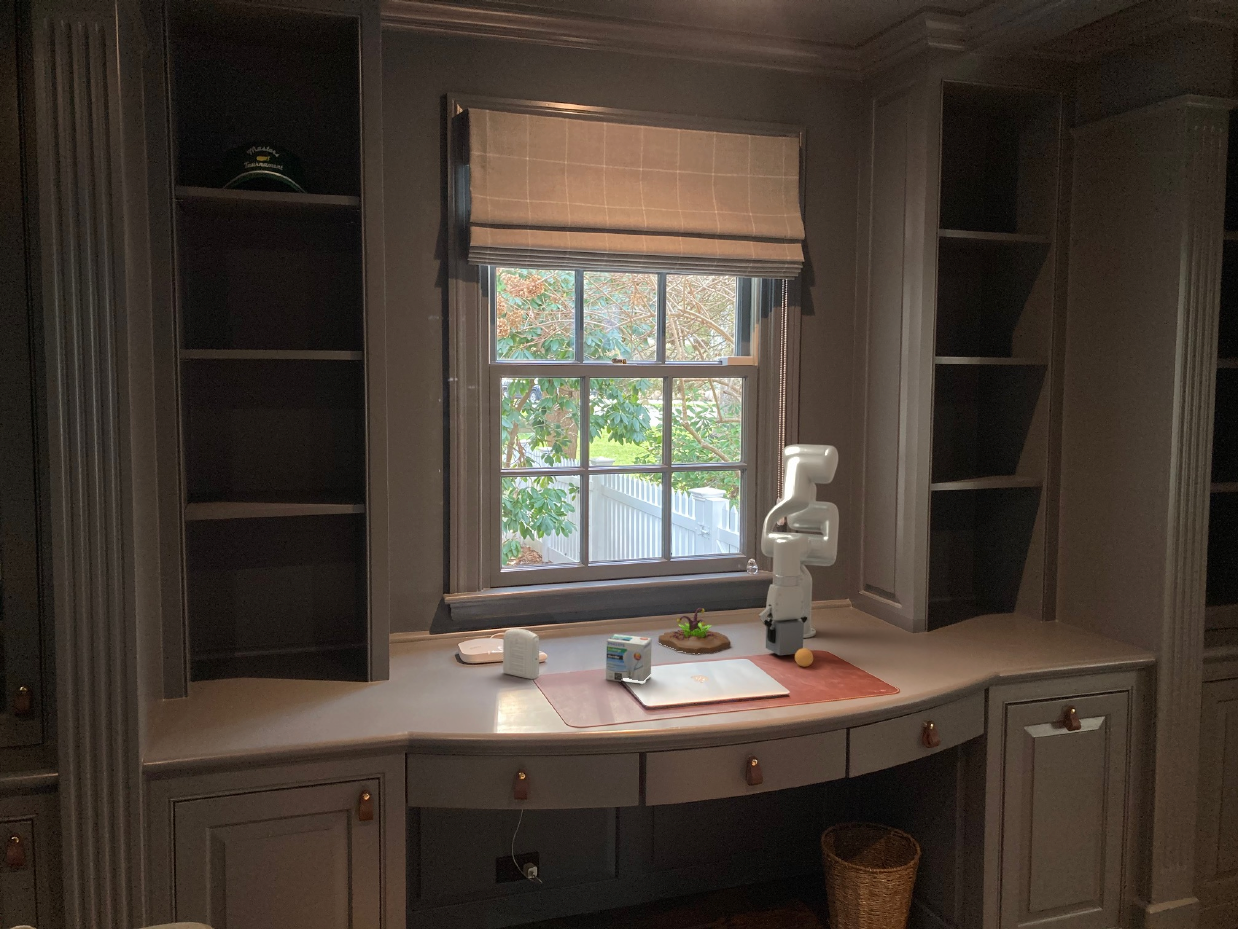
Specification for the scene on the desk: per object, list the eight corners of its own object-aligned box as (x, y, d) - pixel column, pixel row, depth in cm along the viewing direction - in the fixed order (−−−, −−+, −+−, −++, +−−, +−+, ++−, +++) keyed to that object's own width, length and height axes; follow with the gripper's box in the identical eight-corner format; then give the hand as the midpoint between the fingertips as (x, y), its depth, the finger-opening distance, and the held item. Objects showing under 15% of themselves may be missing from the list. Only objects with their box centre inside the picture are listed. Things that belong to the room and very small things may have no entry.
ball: (791, 664, 255) (791, 647, 255) (806, 662, 257) (807, 645, 257) (800, 669, 251) (801, 652, 250) (816, 668, 253) (817, 650, 252)
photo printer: (541, 676, 243) (541, 630, 241) (532, 680, 239) (532, 634, 238) (510, 669, 248) (510, 625, 247) (500, 674, 244) (500, 628, 243)
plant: (742, 648, 272) (743, 611, 271) (690, 659, 261) (691, 620, 260) (700, 633, 288) (701, 598, 287) (649, 642, 277) (650, 605, 276)
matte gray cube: (765, 647, 266) (766, 618, 265) (788, 645, 268) (789, 616, 268) (779, 655, 259) (780, 624, 258) (802, 652, 261) (803, 622, 261)
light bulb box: (605, 680, 240) (605, 639, 239) (614, 672, 246) (614, 633, 246) (643, 685, 237) (644, 644, 236) (651, 677, 243) (652, 637, 242)
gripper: (805, 576, 268) (803, 634, 270) (752, 579, 262) (751, 639, 264) (819, 581, 261) (817, 641, 263) (766, 585, 255) (764, 647, 257)
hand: (784, 640), depth 263 cm, fingers closed on matte gray cube, 7 cm apart
